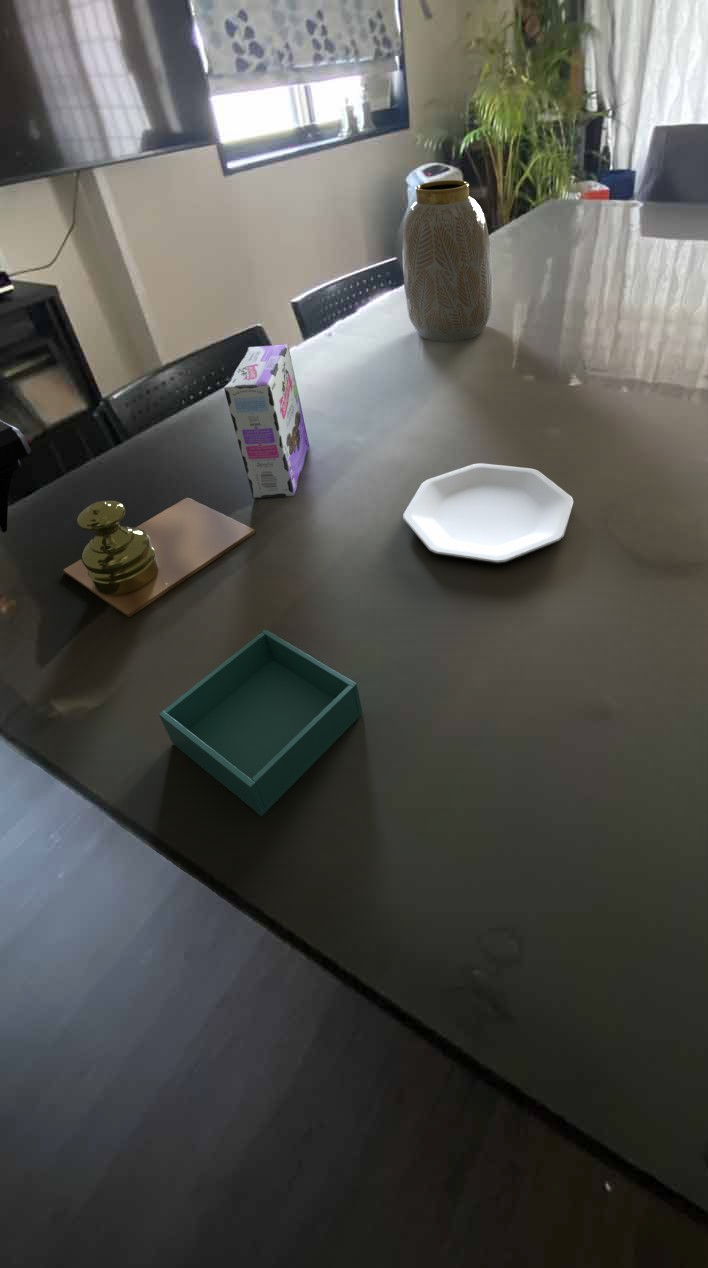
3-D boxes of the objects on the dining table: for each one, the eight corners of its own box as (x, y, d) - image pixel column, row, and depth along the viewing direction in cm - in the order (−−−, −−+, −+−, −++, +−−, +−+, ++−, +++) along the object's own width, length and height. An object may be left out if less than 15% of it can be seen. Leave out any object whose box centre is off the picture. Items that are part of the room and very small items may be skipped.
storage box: (261, 816, 54) (250, 787, 52) (172, 743, 60) (158, 714, 58) (363, 713, 61) (356, 683, 59) (273, 657, 68) (265, 629, 65)
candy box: (295, 497, 91) (268, 384, 82) (251, 500, 92) (221, 387, 82) (311, 446, 103) (289, 341, 93) (272, 448, 103) (247, 344, 94)
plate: (553, 580, 74) (554, 569, 73) (385, 554, 80) (384, 544, 79) (580, 483, 89) (581, 473, 88) (437, 467, 95) (436, 458, 94)
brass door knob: (134, 549, 84) (105, 480, 78) (173, 567, 80) (147, 496, 74) (81, 584, 79) (46, 514, 73) (120, 605, 75) (87, 533, 70)
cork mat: (128, 618, 74) (127, 614, 74) (64, 573, 82) (62, 569, 81) (255, 532, 85) (254, 529, 85) (188, 500, 93) (187, 497, 93)
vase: (418, 315, 147) (406, 178, 131) (498, 314, 143) (495, 173, 128) (400, 346, 133) (384, 197, 118) (487, 346, 129) (483, 192, 114)
